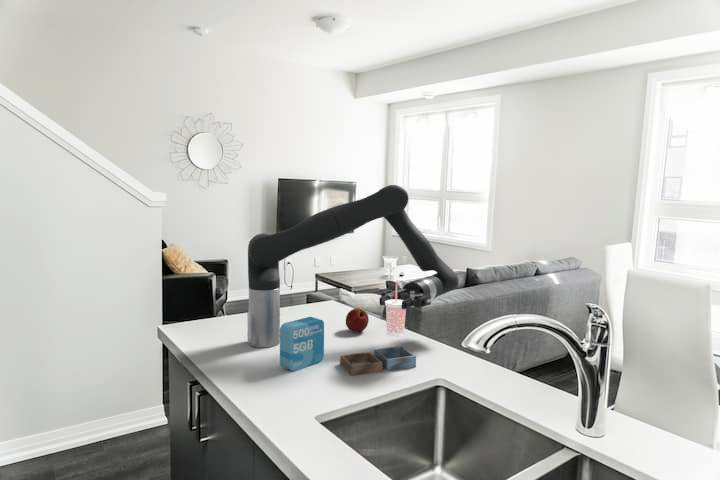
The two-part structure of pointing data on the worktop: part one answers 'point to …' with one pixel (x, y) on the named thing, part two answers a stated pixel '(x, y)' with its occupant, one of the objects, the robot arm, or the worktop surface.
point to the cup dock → (378, 360)
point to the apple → (357, 320)
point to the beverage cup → (395, 317)
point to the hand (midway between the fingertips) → (392, 303)
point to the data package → (301, 343)
